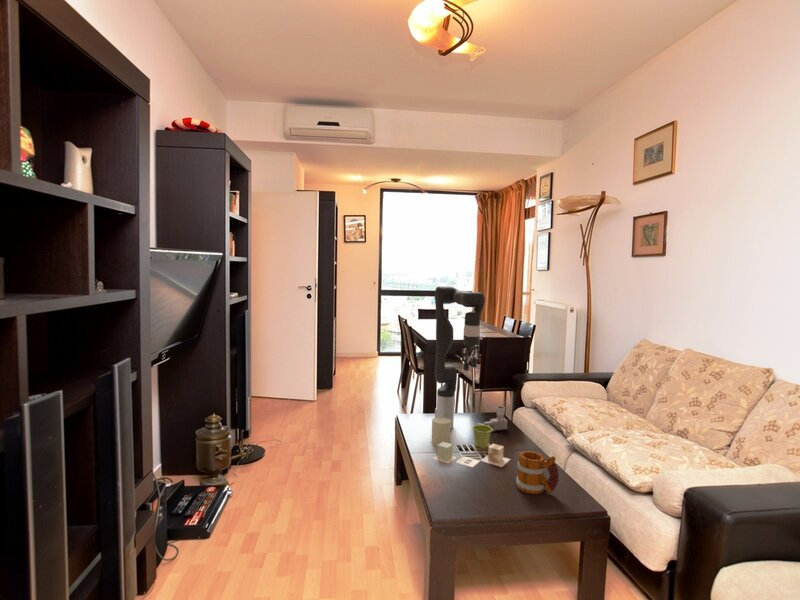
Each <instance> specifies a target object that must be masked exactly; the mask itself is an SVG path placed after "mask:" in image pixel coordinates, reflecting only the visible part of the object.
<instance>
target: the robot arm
mask: <svg viewBox="0 0 800 600" xmlns="http://www.w3.org/2000/svg"><path fill="white" fill-rule="evenodd" d="M485 300H486V297H485V295H484V294H483V293H482V292H480V291H479V292H478V291H477V292H476V291H467V290H459V289H457V288H456V287H453V286H450V285H449V286H448V285H447V286H446V285H445V286H436V288H435V291H434V303H435V304H434V305H435V321H436V323H435V343H436V344H435V348H436V349H435V363H434V379H435V381H436V382H437V383H438V384H442V386H440V387H439V388H438V389H437V391H436V407H435V409H434V418H436V417H444V418H448V419H450V420H451V427H450V430H451V429H453V428H454V419H455V418H454V416H455V393H456V390H457V382H458V381H457V380H458V372H457V368H456V367H455V365H453V364H446V358H447V354H448V352H449V351H450V349H451V347H452V346H453V343H454V326H453V324H452V323H451V321H450V320H449V318H448V316H447V314H446V313H445V308H444V305H445V304H446V305H447V304H448V305H449V304H455V303H456V304H457V305H460V306H463V307H464V308H473V310H471V311H468V312H466V313H465V315H464V327H463V340H462V341H463V342H462V343H463V345H464V346H465V348H462V349H461V362H463V371H467V372H468V371H469V369H470V360H471V367H472V368H477V365H478V363H477V362H478V360H479V358H480V349H481V348H480V339H481V336H480V335H481V323H480V322H481V316H482V312H483V308H484V305H485V303H486V301H485Z"/></svg>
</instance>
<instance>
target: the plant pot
mask: <svg viewBox="0 0 800 600" xmlns="http://www.w3.org/2000/svg"><path fill="white" fill-rule="evenodd" d="M489 426H490V425H489ZM489 426H485V425H478V424H476V425H473V426H472V430H473V432H474V433H473V434H474V445H475V447H478V448H482V449H485V448H489V442H490V438H491V434H492V432H493V431H492V428H491V427H489Z"/></svg>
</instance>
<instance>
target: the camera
mask: <svg viewBox="0 0 800 600" xmlns="http://www.w3.org/2000/svg"><path fill="white" fill-rule="evenodd" d="M505 407H506V406H504V405H503V406H502V405H497V406H496V418H490V419H489V421H484V422H483V423H481V422H476V425H485V426H489V427H491V428H492V431H491V432H496V431H503V430H508V419H506V418H505V412H506V411H505V410H506V409H505Z"/></svg>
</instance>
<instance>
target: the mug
mask: <svg viewBox="0 0 800 600" xmlns="http://www.w3.org/2000/svg"><path fill="white" fill-rule="evenodd" d="M556 459H557V458H556V457H555V456H554V455H553V456H551V457H549V458H548V459H547V460H546V459H545V456H544V455H543V454H541V453H539V452H535V451H530V450H529V451H527V450H525V451H521V452H520V453H518V461H517V469H518V472H517V476H516V480H515V483H516V487H517V488H516V489H518V490H520V491H521V492H523V493H525V494H531V495H538V494H539V495H540V494H542V493H543V492H544V491H546V492H547V494H552V493H553V492H554V491H555V489H556V487H557V486H558V483H559V477H560V474H559V471H558V470H559V469H558V466H557V464H556ZM546 469H547V472H548V473H549V477H548V478H547V477H545V472H546Z"/></svg>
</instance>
